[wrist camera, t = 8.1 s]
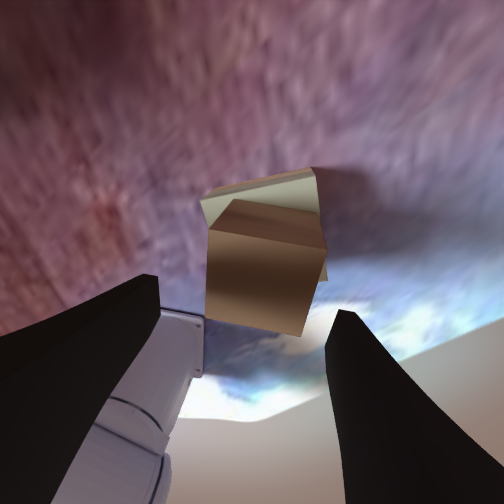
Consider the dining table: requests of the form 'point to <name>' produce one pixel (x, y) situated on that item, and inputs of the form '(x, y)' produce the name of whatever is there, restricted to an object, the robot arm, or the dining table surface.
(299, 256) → the walnut cube
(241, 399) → the dining table surface
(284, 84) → the dining table surface
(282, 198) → the cream slab
